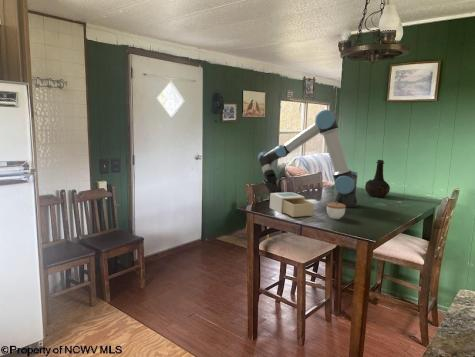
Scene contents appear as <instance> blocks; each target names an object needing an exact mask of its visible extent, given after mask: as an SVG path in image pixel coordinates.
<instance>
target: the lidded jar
mask: <svg viewBox="0 0 475 357" xmlns="http://www.w3.org/2000/svg"><path fill="white" fill-rule="evenodd" d="M346 208H347V207H346V205H344V204H341V203H337V202H335V203H334V202H328V203H326V213H327V215H328V217H329V218H330V219H334V220H340V219H342V217H343V216H344V215H345V213H346Z"/></svg>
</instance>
